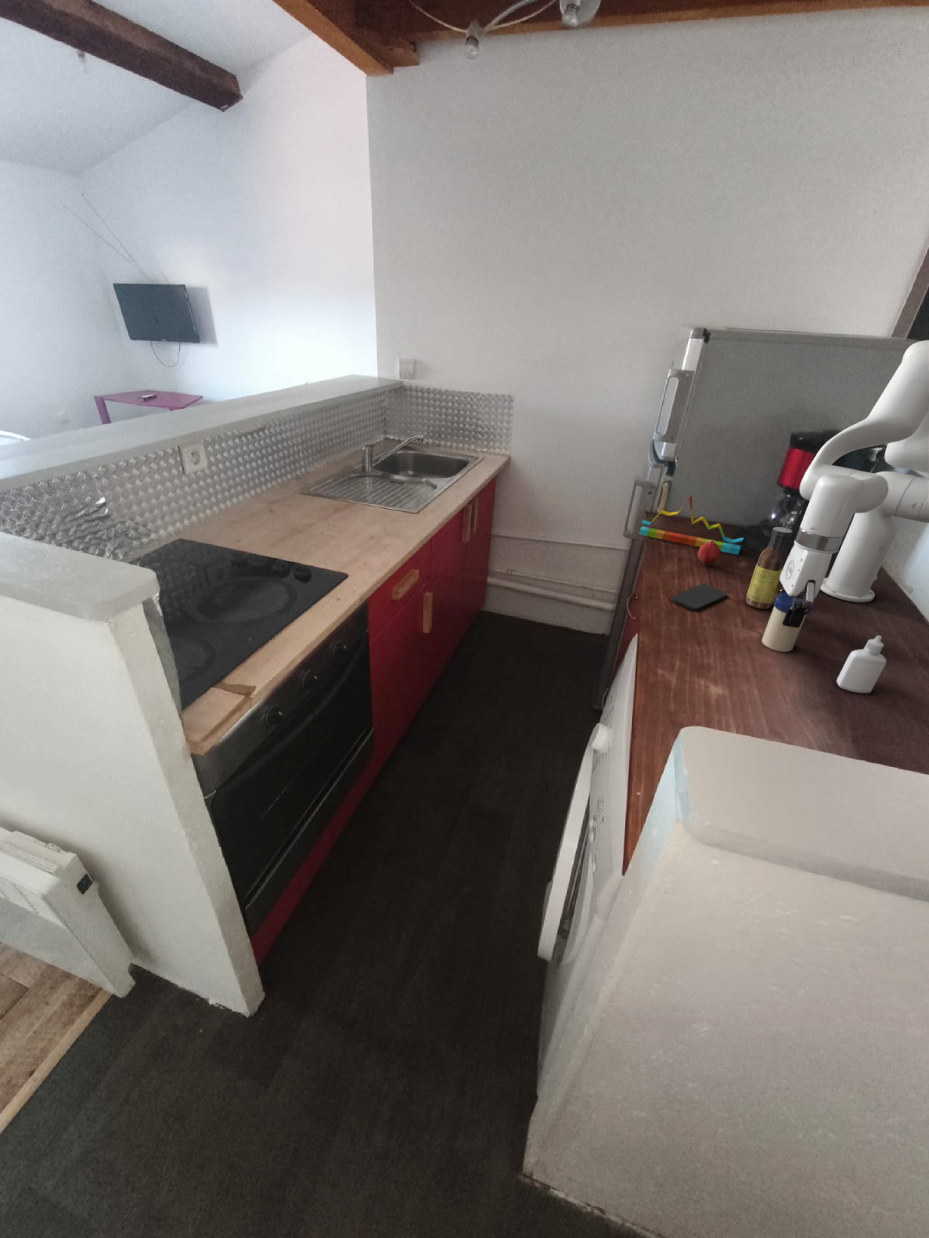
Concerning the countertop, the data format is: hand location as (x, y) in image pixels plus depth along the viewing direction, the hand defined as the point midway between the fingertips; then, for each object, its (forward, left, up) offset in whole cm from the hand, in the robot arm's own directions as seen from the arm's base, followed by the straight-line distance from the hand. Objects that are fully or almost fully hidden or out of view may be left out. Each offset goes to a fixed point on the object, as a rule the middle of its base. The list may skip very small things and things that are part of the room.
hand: (786, 617), depth 110 cm
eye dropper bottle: (+1, +17, -7) cm, 18 cm away
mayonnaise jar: (-1, 0, -7) cm, 7 cm away
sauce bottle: (-14, -14, -7) cm, 21 cm away
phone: (-2, -23, -7) cm, 24 cm away
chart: (-31, -51, -7) cm, 60 cm away
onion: (-21, -37, -7) cm, 43 cm away
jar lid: (0, 0, +4) cm, 4 cm away
